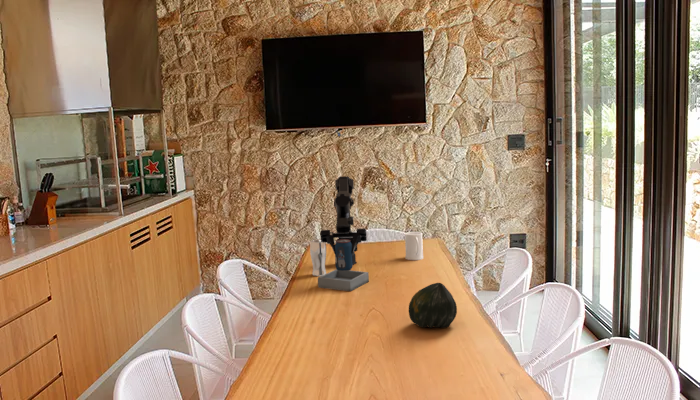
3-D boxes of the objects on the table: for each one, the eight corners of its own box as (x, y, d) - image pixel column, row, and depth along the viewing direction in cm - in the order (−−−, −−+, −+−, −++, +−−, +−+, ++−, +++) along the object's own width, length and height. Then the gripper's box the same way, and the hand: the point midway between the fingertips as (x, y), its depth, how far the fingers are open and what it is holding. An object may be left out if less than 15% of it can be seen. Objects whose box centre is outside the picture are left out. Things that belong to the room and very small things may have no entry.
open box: (318, 287, 247) (317, 277, 247) (337, 278, 260) (336, 269, 259) (350, 291, 240) (350, 281, 239) (368, 281, 253) (368, 272, 252)
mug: (426, 261, 284) (425, 235, 282) (407, 262, 283) (407, 236, 282) (421, 255, 295) (421, 231, 294) (404, 256, 295) (403, 231, 293)
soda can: (350, 266, 253) (349, 238, 252) (354, 270, 247) (353, 241, 245) (333, 268, 252) (332, 239, 250) (338, 272, 245) (337, 242, 243)
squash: (398, 303, 204) (412, 277, 193) (438, 299, 209) (454, 273, 198) (412, 341, 195) (428, 316, 184) (454, 336, 200) (471, 311, 189)
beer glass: (328, 272, 270) (326, 238, 268) (326, 276, 263) (324, 242, 261) (312, 272, 271) (311, 239, 269) (310, 276, 264) (308, 242, 262)
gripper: (319, 210, 250) (318, 243, 241) (365, 208, 249) (366, 241, 240) (321, 225, 259) (321, 257, 250) (366, 224, 258) (367, 256, 249)
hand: (343, 253), depth 247 cm, fingers closed on soda can, 7 cm apart
